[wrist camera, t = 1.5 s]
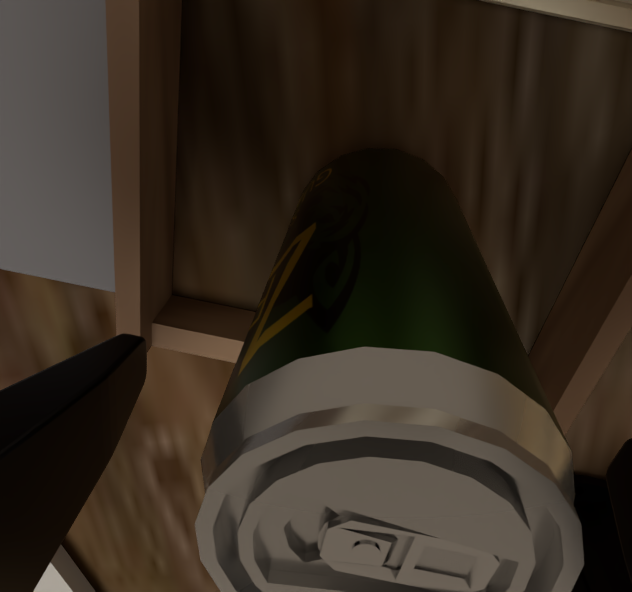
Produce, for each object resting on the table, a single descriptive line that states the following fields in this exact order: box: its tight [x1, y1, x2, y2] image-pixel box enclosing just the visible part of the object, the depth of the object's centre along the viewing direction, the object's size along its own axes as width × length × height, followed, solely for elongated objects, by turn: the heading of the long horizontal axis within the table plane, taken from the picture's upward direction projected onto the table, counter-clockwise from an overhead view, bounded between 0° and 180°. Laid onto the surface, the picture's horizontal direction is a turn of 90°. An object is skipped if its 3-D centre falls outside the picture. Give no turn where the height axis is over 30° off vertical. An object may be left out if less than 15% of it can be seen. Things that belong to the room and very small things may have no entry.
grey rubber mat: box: [0, 0, 115, 292], centre depth 16 cm, size 8×10×1 cm
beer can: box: [195, 148, 584, 592], centre depth 12 cm, size 5×5×12 cm
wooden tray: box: [105, 0, 632, 436], centre depth 13 cm, size 15×20×3 cm
